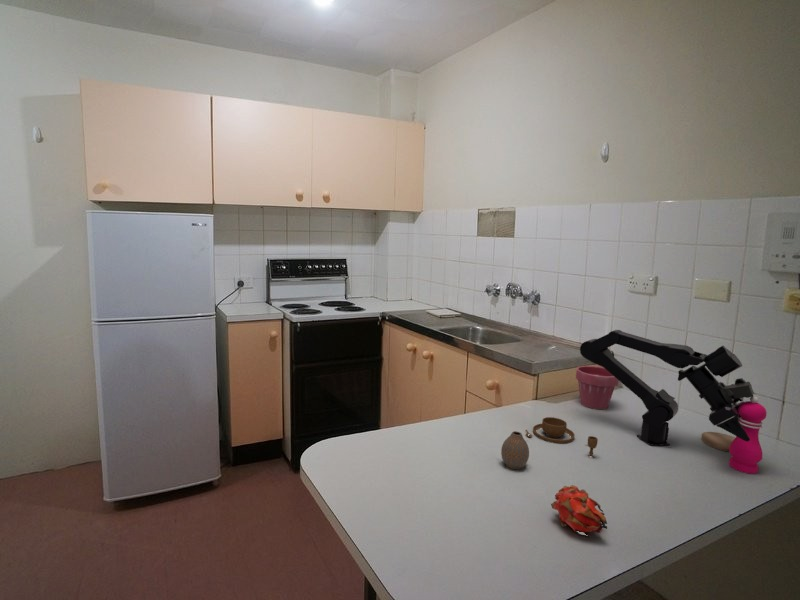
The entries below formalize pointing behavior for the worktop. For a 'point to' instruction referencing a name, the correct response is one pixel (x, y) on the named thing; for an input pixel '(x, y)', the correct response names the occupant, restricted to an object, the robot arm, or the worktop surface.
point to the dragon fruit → (578, 510)
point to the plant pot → (595, 386)
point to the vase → (515, 451)
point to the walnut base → (717, 440)
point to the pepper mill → (749, 452)
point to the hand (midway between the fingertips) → (750, 435)
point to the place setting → (559, 432)
